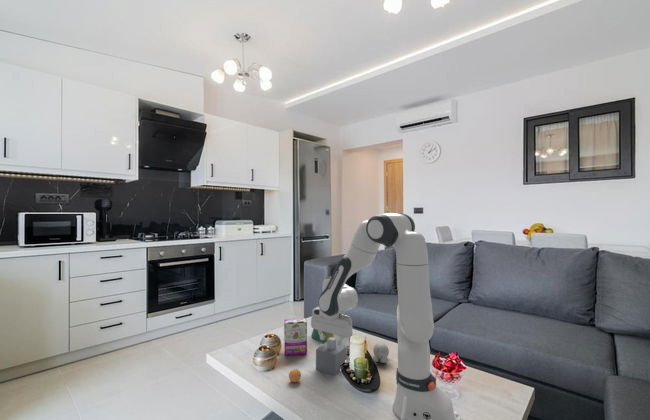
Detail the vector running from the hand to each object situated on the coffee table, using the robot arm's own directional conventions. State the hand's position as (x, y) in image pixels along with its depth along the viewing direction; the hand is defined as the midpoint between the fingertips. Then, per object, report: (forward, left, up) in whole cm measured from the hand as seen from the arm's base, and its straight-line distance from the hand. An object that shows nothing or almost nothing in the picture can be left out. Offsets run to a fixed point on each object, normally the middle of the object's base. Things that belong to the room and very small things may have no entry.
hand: (330, 342), depth 138 cm
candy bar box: (+22, -2, -12) cm, 25 cm away
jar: (+4, -16, -12) cm, 20 cm away
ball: (+7, +18, -9) cm, 21 cm away
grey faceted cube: (0, 0, -11) cm, 11 cm away
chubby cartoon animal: (-17, -18, -12) cm, 28 cm away
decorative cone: (+20, -27, -12) cm, 35 cm away
